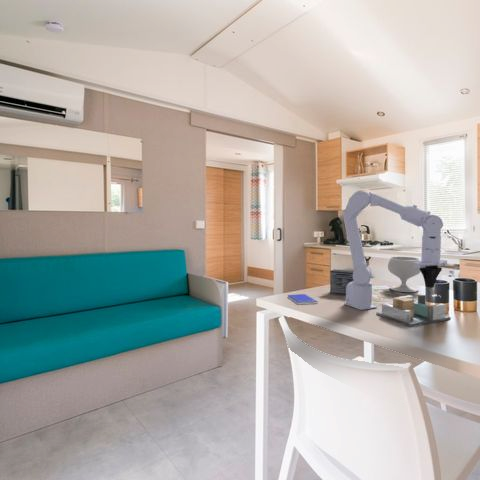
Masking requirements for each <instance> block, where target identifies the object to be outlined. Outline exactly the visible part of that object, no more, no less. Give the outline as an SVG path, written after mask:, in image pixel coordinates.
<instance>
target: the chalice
mask: <svg viewBox="0 0 480 480" xmlns="http://www.w3.org/2000/svg"><path fill="white" fill-rule="evenodd" d="M418 261H420V259H419V258H417V257H411V256H392V257H390V259H389V261H388V264H387V269H388V271H389V273H391V274H393V275H394V276H395V277H397V278H399V280H400V281H401V284H400V285H393V286H389V289H390V290H391V291H394V292H398V293H399V292H401V293H417V292H419V289H418V288H415V287H412V286H408V285H407V281H408V280H409V279H411V278H413V277H416V276H417V275H420V274H421V271H420V269H419V268H413V262H418Z"/></svg>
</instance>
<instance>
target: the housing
mask: <svg viewBox="0 0 480 480" xmlns="http://www.w3.org/2000/svg"><path fill="white" fill-rule="evenodd" d="M414 302H415V299H414V298H413V299H409V298H406V297H401V296H397V297H393V298H392V305H394V306H397V307H400V308H404V309H407V310H410V311H411V318H413V317H414Z"/></svg>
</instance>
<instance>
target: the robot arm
mask: <svg viewBox="0 0 480 480" xmlns="http://www.w3.org/2000/svg"><path fill="white" fill-rule="evenodd" d="M368 206H370V207H381V208H384V210H385V209H386V210H388V211H391V212H393V213H396V214H398V215H399V216H400V219H401V220H403V221H405V222H407V223H409V224H412V225H414V226H416V227H421V228H422V235H421V236H422V237H421V260H419V261H418V262H413V268H419V269H420V271H421V272H420V274H421V275H422V277H423V280H424V284H425V287H426V288H431V289H432V288H434V287H435V285H436V281H437V278H438V277H439V275H440V273H441V272H442V269H443V268H442V266H443V267H447V266H448V260H444V259H441V250H442V249H441V248H442V247H441V244H442V236H441V235H442V231H441V230H442V228H443V227H444V222H443V220H442V218H441V217H440V216H438V215H435V214H431V213H432V212H431V211H429V210H428V211H425V210H423V209H420V208H419V207H418V205H416V204H413V205H411V204H408V205H405V206H403V205H401V204H400V203H397V202H394V201H392V200H391V199H388V198H385V197H383V196H382V195H379V194H376V193H371V192H367V191H365V190H356V191H355V192H354V193H353V194H352V195H351V196H350V197H349V199H348V201H347V204H346V206H345V209H344V211H343V213H342V219H343V223H344V227H345V232H346V236H347V241H348V247H349V249H350V250H349V251H350V254H351V258H352V268H353V271H354V272H353V279H354V281H352V282H350V283H348V285H347V287H346V295H345V302H344V304H343V305H347V306H348V307H352V308H355V309H356V310H360V311H363V310H370V309H377V308H378V306H376V305H373V303H372V301H373V299H372V298H373V282H372V281H371V278H372V270H371V268H370V267H369V265H368V264H367V260H366V255H365V252H364V248H363V247H364V246H363V243H362V238H361V234H360V227H359V223H358V219H357V217H358V216H359V215H360V213H361V211H363V210H365V208H367V207H368Z"/></svg>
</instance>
